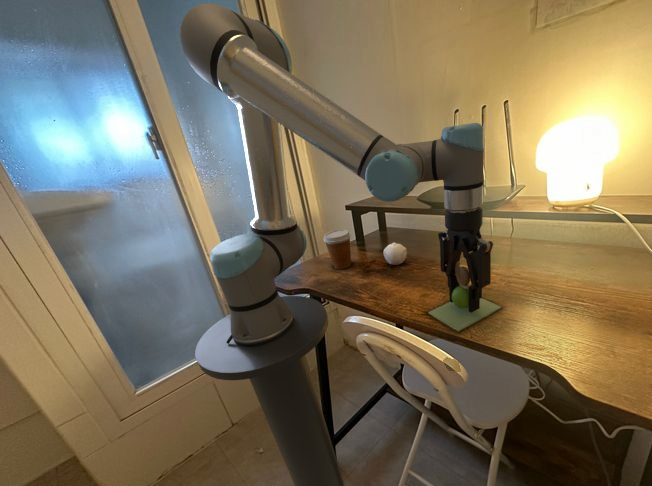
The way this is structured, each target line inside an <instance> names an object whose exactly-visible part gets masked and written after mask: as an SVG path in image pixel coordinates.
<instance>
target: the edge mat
mask: <svg viewBox="0 0 652 486" xmlns="http://www.w3.org/2000/svg"><path fill="white" fill-rule="evenodd" d="M501 309H502V306H500V305H499V304H496V303H493V302H491V301H489V300H487V299H484V298H483V297H481V299H480V308H479V309H477V310H476V311H474V312H472V313H471V312H469V307H468V308H460V307H457V306H456V305H455V304H454V303H453V302H452V303H451V302H450V301H448V302H446V303H444V304H442V305H440V306H438V307H436V308H433V309H432V310H429V311H428V312H427V314H428V315H430V316H431V317H432V318H434V319H436V320H438V321H439V322H441V323H443V324H444V325H446V326H447V327H449V328H450V329H452V330H454V331H456V332H457V333H459V332H461V331H463V330H464V329H467V328H468V327H469V326H472V325H473V324H475V323H477V322H479V321H481V320H483V319H485V318H486V317H488V316H490V315H491V314H493V313H496V312H497V311H499V310H501Z"/></svg>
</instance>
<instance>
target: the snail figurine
mask: <svg viewBox="0 0 652 486" xmlns="http://www.w3.org/2000/svg"><path fill="white" fill-rule="evenodd" d="M455 273H456V274H455V275H456V278H457V281H458V283H459V284H460V286H458V287H456V288H455V289H454V290H453V292H452V301H453V303H454V304H455V305H456V306H457V307H460V308H468V307H469V286H470V285H469V284H470V283H471V280H470V276H469V271H468V267H466V266H461V262H460V261H458V262H457V263H456V266H455Z"/></svg>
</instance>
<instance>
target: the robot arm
mask: <svg viewBox="0 0 652 486" xmlns="http://www.w3.org/2000/svg"><path fill="white" fill-rule="evenodd" d="M181 21H182V22H181V25H180V32H179V33H180V34H179V35H180V43H181V48H182V51H183V54H184V57H185V58H186V60H187V63H188V65H190V66H191V68H192V69H193V71H194V72H195V73H196V74H197V75H198V76H199V77H200V78H202V79H203V80H204V81H205V82H207V83H208V84H209V85H211V87H214V88H215V89H217V90H218V91H220V92H221V93H223V94H224V95H225V96H227V98H228V100H230V102H232V103H233V104H234V105H235V106H236V108H237V110H238V111H237V113H238V118H239V124H240V130H241V136H242V137H241V138H242V143H243V148H244V155H245V161H246V168H247V173H248V174H247V175H248V179H249V186H250V191H251V192H250V193H251V198H252V204H253V210H254V217H253V218H252V219H251V220H250V221H249V226H250V231H251V233H243V234H238V235H235V236H233V237H231V238H227V239H225V240H223V241H221V242H219V243H218V244H217V245H215V246H214V247H213V249H212V250H211V252H210V254H209V260H210V263H211V266H212V271H213V272H212V273H213V274H214V276H215V277H216V279H217V283H218V284H219V287H220V288H221V292H222V294H223V296H224V299H225V302H226V304H227V306H228V308H229V314H230V327H231V336H230V337H229V339H228V340H227V342H226V343H228V344H229V343H230V341H231V340H232V338H233V340H234V342H235V343H236V344H238V345H241V346H257V345H262V344H265V343H268V342H271V341H273V340H275V339H277V338H279V337H280V336H282V335H283V334H285V333H286V332H287V331H288V330H289V329H290V328H291V326H292V325H293V322H294V318H293V315H292V312H291V310H290V309H289V307H288V306H287V305H286V304H285V302H284V301H283V300H282V298H281V297H282V296H280V294H279V292H278V288H277V285H276V282H275V279H277V277H279V276H280V275H281V274H283V273H284V272H285V271H287V270H288V269H289V268H290V267H292V266H295V264H297V262H299V261H300V259H301V258H302V257H303V256H304V254H305V253H306V249H307V237H306V234H305V231H304V230H302V229H301V226H300V225H298V220H297V218H296V217H294V216H293V215H292V214H291V208H290V200H289V190H288V189H289V188H288V181H287V180H288V179H287V172H286V171H287V169H286V160H285V150H284V142H283V141H284V140H283V131H282V127H284V128H286V129H287V130H289V131H290V132H292V133H293V134H295V135H296V136H298V137H299V138H301V139H302V140H304V141H305V142H307V143H308V144H309V145H311V146H313V147H314V148H316V149H317V150H319V151H320V152H322V153H323V154H324V155H326V156H328V157H329V158H331V159H332V160H334V161H335V162H336V163H338V164H340V166H343V167H344V168H346V169H347V170H349V171H350V172H351V173H353V174H355V176H357V177H359V178H361V180H364V181H365V185H366V187H367V189H368V191H369V192H370V194H371V195H372V196H373V197H374V198H376V199H377V200H379V201H382V202H387V203H392V202H397V201H399V200H401V199H403V198H405V197H407V196H408V195H409V194H410V193H411V192H413V190H414V189H415V188H416V186H417V185H419V183H427V182H439V181H443V204H444V205H443V207H444V209H445V211H444V226H445V228H446V230H444V231H440V232H438V233H437V234H438V235H437V237H438V240H439V255H440V256H439V258H440V259H439V260H440V261H439V263H440V271H441V273H445V276H446V277H447V287H448V289H449V290H448V291H449V292H448V295H449V302H451V303H452V302H453V301H452V292H453V290H454V289H455V288H456V287H458V286H460V284H459V283H458V281H457V278H456V273H455V266H456V263H457V262H458V261H459V262H460V261H461V257H463V258H464V259H465V261H466V262H465V263H466V266H467V270H468V271H469V276H470V284H471V285H468V286H469V312H471V313H472V312H474V311H476V310H477V309H479V308H480V299H481V298H483V288H485V287H488V286H489V285H491V281H492V280H491V276H492V274H491V271H492V270H491V267H492V266H491V265H492V263H491V261H492V260H491V258H492V257H491V253H492V249H493V247H494V243H493V241H490V240H489V241H486V240H484V239H483V238H482V234H481V228H482V226H483V218H484V217H483V214H484V213H483V212H484V210H483V208H482V206H483V204H484V203H483V201H484V167H485V166H484V165H485V164H484V163H485V162H484V160H485V137H484V127H483V126H482V125H481V123H479V122H471V123H464V124H457V125H450V126H445V127H443V128H442V130H441V135H440V138H437V139H434V140H429V141H427V140H426V141H418V142H411V143H398V144H396V143H395V142H393V141H392V140H390V139H389V138H388V137H385V136H384V135H383V134H381V132H378V131H377V130H375V129H374V128H372V127H371V126H370V125H369V124H367V123H365V122H364V121H362V120H361V119H359V117H357V116H355V115H353V114H352V113H350V112H349V111H347V110H346V109H344V108H343V107H342V106H340V105H338V104H337V103H335V102H334V101H333V100H331V99H329V98H328V97H326V95H323V93H321V92H319V91H318V90H316V89H315V88H313V87H312V86H310V85H309V84H308V83H306V82H304V81H303V80H302V79H300V78H298V77H297V76H295V75H294V74H293V61H292V57H291V53H290V50H289V47H288V46H287V44H286V41H285V40H284V39H283V37H282V36H281V35H280V34H279V33H278V32H277V30H274V28H272V27H270V26H269V25H268V24H266V23H264V22H263V21H261V20H258V19H253V18H250V17H248V16H246V15H243V14H241V13H238V12H236V11H233V10H232V9H229V8H227V7H225V6H223V5H219V4H217V3H216V4H215V3H201V4H197V5H195V6H193V7H191V8H190V9H189V10H188V11H187V12H186V14H185V15H184V16H183V19H182V20H181Z"/></svg>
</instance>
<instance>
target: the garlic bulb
mask: <svg viewBox="0 0 652 486" xmlns="http://www.w3.org/2000/svg"><path fill="white" fill-rule="evenodd" d="M382 255H383V257H384V260H385V261H386V262H387V263H388V264H389V265H392V266H398V265H400V264H402V263H404V262H405V261H406V259H407V255H408V250H407V247H405V246H404V245H402V244H401V243H397V242H392V243H390V244H388V245H387V246H386V247H384V249H383V253H382Z"/></svg>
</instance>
